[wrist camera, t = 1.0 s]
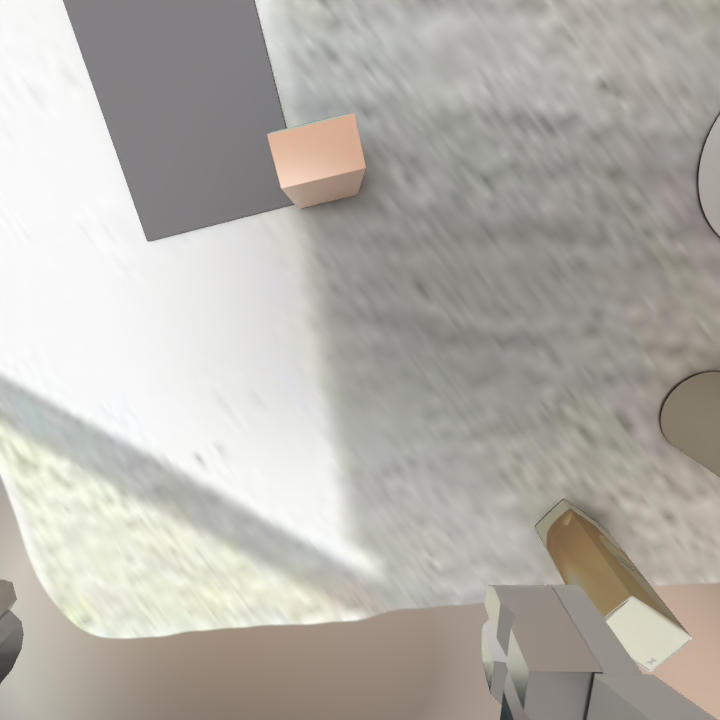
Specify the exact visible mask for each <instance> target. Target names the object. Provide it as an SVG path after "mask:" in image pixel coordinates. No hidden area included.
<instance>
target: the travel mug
mask: <svg viewBox="0 0 720 720" xmlns="http://www.w3.org/2000/svg"><path fill="white" fill-rule="evenodd" d="M661 428H662V431H663V434H664V436H665V437H666V439H667V440H668V441H669V442H670V443H671V444H672V445H673V446H675V447H676V448H677V449H679V450H680V451H682V452H683V453H685V454H686V455H688V456H689V457H691V458H692V459H694V460H695V461H697V462H698V463H700V464H701V465H703V466H704V467H706V468H707V469H709V470H710V471H711V472H713V473H714V474H716V475H717V476H719V477H720V372H707V373H702V374H698V375H696V376H693V377H691V378H689V379H687V380H686V381H684V382H683V383H681V384H680V385H679V386H678V387H676V388H675V389H674V390H673V392H672V393H671V394H670V395H669V397H668V398H667V400H666V402H665V404H664V406H663V409H662V413H661Z"/></svg>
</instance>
